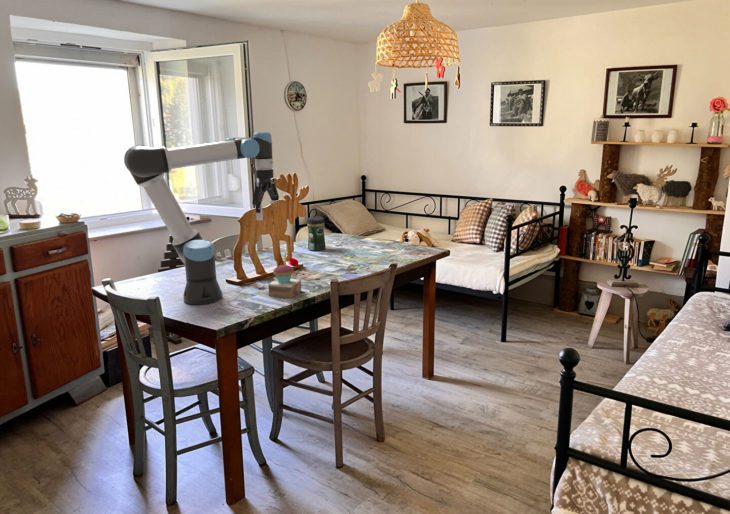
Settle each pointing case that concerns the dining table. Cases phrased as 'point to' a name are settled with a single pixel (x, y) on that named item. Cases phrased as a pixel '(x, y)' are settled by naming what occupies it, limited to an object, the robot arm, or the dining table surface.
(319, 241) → the coffee jar
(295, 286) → the pedestal
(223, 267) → the dining table surface
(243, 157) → the robot arm
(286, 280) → the cupcake
